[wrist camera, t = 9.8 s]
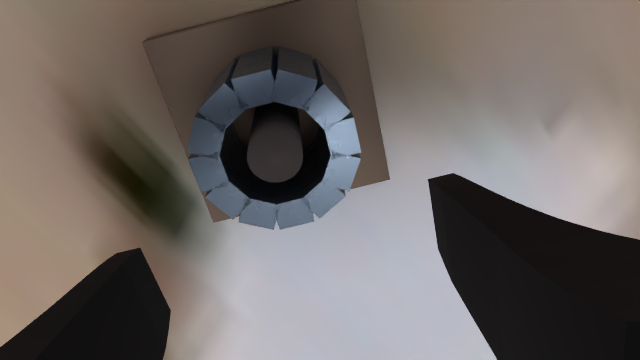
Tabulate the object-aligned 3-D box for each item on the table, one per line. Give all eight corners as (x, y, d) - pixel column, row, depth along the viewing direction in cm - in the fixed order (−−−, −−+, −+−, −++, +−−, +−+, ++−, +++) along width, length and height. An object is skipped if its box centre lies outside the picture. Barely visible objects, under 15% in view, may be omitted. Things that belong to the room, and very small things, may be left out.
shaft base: (350, -15, 18) (373, -3, 13) (386, 171, 21) (413, 230, 17) (147, 38, 18) (103, 67, 14) (215, 213, 22) (198, 282, 17)
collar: (328, 31, 18) (339, 51, 14) (356, 161, 20) (373, 206, 17) (187, 67, 18) (163, 96, 14) (232, 192, 20) (221, 243, 17)
